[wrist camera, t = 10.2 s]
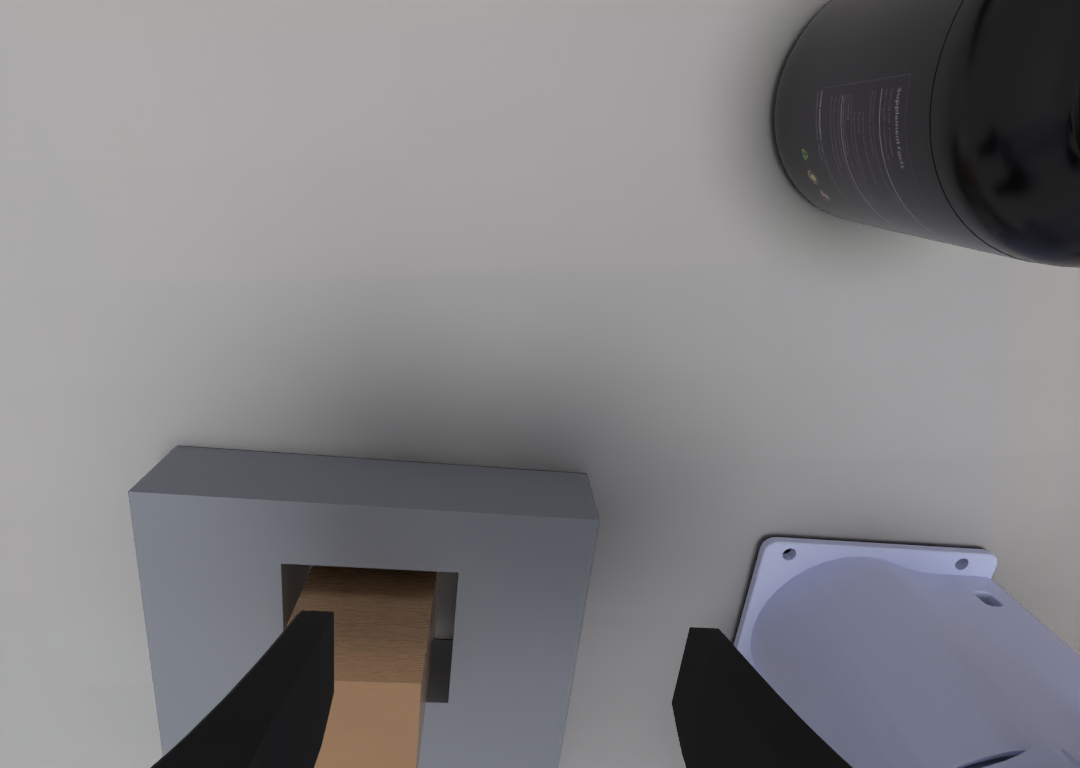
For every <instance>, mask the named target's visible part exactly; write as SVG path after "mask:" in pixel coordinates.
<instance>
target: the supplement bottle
mask: <svg viewBox="0 0 1080 768" xmlns="http://www.w3.org/2000/svg"><path fill="white" fill-rule="evenodd" d="M774 127H775V137H776V142H777V147H778V151H779V155H780V158H781V161H782V163H783V165H784V168H785V170H786V172H787V174H788V175H789V177H790V179H791V180H792V182H793V183H794V185H795V186H796V187H797V189H798V190H799V191H800V192H801V193H802V194H803V195H804V196H805V197H806V198H807V199H808V200H809V201H810V202H811V203H813V204H814V205H816V206H817V207H818V208H820V209H822V210H824V211H826V212H827V213H829V214H832V215H834V216H837V217H839V218H842V219H846V220H849V221H853V222H857V223H860V224H864V225H868V226H873V227H877V228H882V229H886V230H890V231H895V232H899V233H904V234H908V235H912V236H917V237H921V238H926V239H930V240H934V241H939V242H943V243H948V244H952V245H956V246H961V247H965V248H970V249H974V250H978V251H983V252H987V253H992V254H996V255H1001V256H1005V257H1009V258H1014V259H1018V260H1023V261H1028V262H1034V263H1040V264H1046V265H1053V266H1060V267H1077V268H1079V267H1080V0H831V1H830V2H829V3H828V4H827V5H826V6H825V7H824V8H823V9H822V10H821V11H820V12H819V13H818V14H817V15H816V16H815V17H814V18H813V19H812V21H811V22H810V23H809V25H808V26H807V27H806V28H805V30H804V31H803V33H802V34H801V36H800V37H799V39H798V40H797V42H796V44H795V46H794V48H793V49H792V51H791V53H790V55H789V57H788V60H787V62H786V64H785V67H784V70H783V72H782V75H781V78H780V82H779V86H778V90H777V96H776V102H775V113H774Z"/></svg>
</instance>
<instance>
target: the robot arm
mask: <svg viewBox="0 0 1080 768" xmlns="http://www.w3.org/2000/svg"><path fill="white" fill-rule="evenodd" d="M787 549H791V550H790V552H788V553H786V554H783V552H784V551H785V550H787ZM958 560H960V561H959V562H957V561H958ZM956 562H957V563H956ZM996 566H997V558H996V557H995V556H994V555H993V554H992V553H990V552H989V551H988V550H984V549H969V548H952V547H935V546H919V545H902V544H885V543H868V542H851V541H835V540H818V539H801V538H784V537H772V538H769V539H767V540H765V541H764V542H763V543H762V545H761V547H760V550H759V554H758V558H757V561H756V565H755V568H754V572H753V576H752V579H751V583H750V587H749V590H748V594H747V598H746V601H745V605H744V609H743V612H742V616H741V620H740V623H739V627H738V631H737V634H736V638H735V641H734V645H733V644H732V643H731V642H730V641H729V640H728V638H727V637H726V636H725V635H724V634H723V633H722V632H721V631H720V630H719V629H714V628H691V627H690V630H689V634H688V638H687V642H686V646H685V650H684V654H683V659H682V663H681V667H680V671H679V675H678V679H677V683H676V688H675V692H674V696H673V700H672V706H673V711H674V716H675V722H676V727H677V732H678V737H679V741H680V746H681V750H682V755H683V758H684V761H685V764H686V768H1080V656H1079V655H1078V654H1077V653H1076V652H1074V651H1073V650H1072V649H1071V648H1070V647H1069V646H1068V645H1066V644H1065V643H1064V642H1063V641H1062V640H1061V639H1060V638H1058V637H1057V636H1056V635H1055V634H1054V633H1053V632H1052V631H1050V630H1049V629H1048V628H1047V627H1046V626H1045V625H1044V624H1042V623H1041V622H1040V621H1039V620H1038V619H1037V618H1036V617H1034V616H1033V615H1032V614H1031V613H1030V612H1029V611H1028V610H1026V609H1025V608H1024V607H1023V606H1022V605H1021V604H1020V603H1018V602H1017V601H1016V600H1015V599H1014V598H1013V597H1012V596H1010V595H1009V594H1008V593H1007V592H1006V591H1005V590H1004V589H1002V588H1001V587H1000V586H999V585H998V584H997V583H996V582H994V581H993V580H992V579H991V578H992V575H993V573H994V571H995V568H996ZM333 695H334V612H328V611H305V610H302V611H301V612H299V613H298V614H297V615H296V616H295V617H294V618H293V620H292V621H291V622H290V623H289V625H288V626H287V627H286V628H285V630H284V631H283V632H282V633H281V634H280V636H279V637H278V638H277V639H276V640H275V642H274V643H273V644H272V645H271V646H270V648H269V649H268V650H267V651H266V652H265V653H264V655H263V656H262V657H261V658H260V659H259V660H258V661H257V663H256V664H255V665H254V666H253V667H252V668H251V669H250V670H249V671H248V673H247V674H246V675H245V676H244V677H243V678H242V679H241V680H240V681H239V682H238V683H237V684H236V686H235V687H234V688H233V689H232V690H231V691H230V692H229V693H228V694H227V695H226V696H225V697H224V698H223V699H222V700H221V702H220V703H219V704H218V705H217V706H215V707H214V708H213V709H212V710H211V711H210V712H209V713H208V714H207V715H206V716H205V717H204V718H203V719H202V720H201V721H200V722H199V723H198V724H197V725H196V726H195V727H194V728H193V729H192V730H191V731H190V732H189V733H188V734H187V735H186V736H185V737H184V738H183V739H182V740H181V741H180V742H179V743H178V744H176V745H175V746H174V747H173V748H172V749H171V750H170V751H169V752H168V753H167V754H166V755H164V756H163V757H162V758H161V759H160V760H159V761H158V762H157V763H155V764H154V765H153V766H152V767H151V768H314V766H315V763H316V761H317V758H318V755H319V752H320V749H321V746H322V742H323V738H324V733H325V729H326V725H327V721H328V717H329V712H330V708H331V704H332V699H333Z"/></svg>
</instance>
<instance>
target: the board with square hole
mask: <svg viewBox="0 0 1080 768" xmlns="http://www.w3.org/2000/svg"><path fill="white" fill-rule="evenodd" d="M128 495H129V502H130V510H131V518H132V525H133V533H134V540H135V548H136V556H137V563H138V571H139V578H140V586H141V594H142V601H143V609H144V616H145V624H146V632H147V639H148V647H149V654H150V662H151V670H152V677H153V685H154V692H155V700H156V708H157V715H158V723H159V730H160V738H161V746H162V753H163V756H164V755H166V754H167V753H168V752H169V751H170V750H171V749H172V748H173V747H174V746H175V745H176V744H178V743H179V742H180V741H181V740H182V739H183V738H184V737H185V736H186V735H187V734H188V733H189V732H190V731H191V730H192V729H193V728H194V727H195V726H196V725H197V724H198V723H199V722H200V721H201V720H202V719H203V718H204V717H205V716H206V715H207V714H208V713H209V712H210V711H211V710H212V709H213V708H214V707H215V706H217V705H218V704H219V703H220V702H221V700H222V699H223V698H224V697H225V696H226V695H227V694H228V693H229V692H230V691H231V690H232V689H233V688H234V687H235V686H236V684H237V683H238V682H239V681H240V680H241V679H242V678H243V677H244V676H245V675H246V674H247V673H248V671H249V670H250V669H251V668H252V667H253V666H254V665H255V664H256V663H257V661H258V660H259V659H260V658H261V657H262V656H263V655H264V653H265V652H266V651H267V650H268V649H269V648H270V646H271V645H272V644H273V643H274V642H275V640H276V639H277V638H278V637H279V636H280V634H281V633H282V632H283V631H284V630H285V628H286V626H287V624H288V622H289V619H290V617H291V615H292V612H293V610H294V608H295V606H296V603H297V601H298V599H299V596H300V594H301V592H302V589H303V587H304V585H305V583H306V580H307V578H308V576H309V565H318V566H338V567H358V568H377V569H397V570H416V571H436V572H456V573H459V574H458V586H457V599H456V612H455V624H454V637H453V640H436V639H434V645H433V653H432V661H431V669H430V677H429V684H428V692H427V700H426V708H425V716H424V724H423V732H422V740H421V748H420V755H419V763H418V768H558V765H559V759H560V753H561V747H562V741H563V735H564V729H565V723H566V717H567V711H568V705H569V699H570V693H571V687H572V681H573V675H574V669H575V663H576V657H577V651H578V645H579V639H580V633H581V627H582V621H583V615H584V609H585V603H586V597H587V591H588V585H589V579H590V573H591V567H592V561H593V555H594V549H595V543H596V537H597V531H598V525H599V517H598V513H597V510H596V506H595V502H594V499H593V495H592V492H591V488H590V484H589V481H588V477H587V474H583V473H569V472H554V471H539V470H524V469H510V468H495V467H480V466H466V465H451V464H436V463H421V462H407V461H392V460H377V459H362V458H348V457H333V456H318V455H303V454H289V453H274V452H259V451H244V450H230V449H215V448H200V447H185V446H176V447H175V448H174V449H173V450H172V451H171V452H170V453H169V454H168V455H167V456H165V457H164V458H163V459H162V460H161V461H160V462H159V463H158V464H157V465H156V466H155V467H154V468H153V469H152V470H151V471H149V472H148V473H147V474H146V475H145V476H144V477H143V478H142V479H141V480H140V481H139V482H138V483H137V484H136V485H135V486H134V487H132V488H131V489H130V490H129V491H128Z"/></svg>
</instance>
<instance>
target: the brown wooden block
mask: <svg viewBox="0 0 1080 768" xmlns="http://www.w3.org/2000/svg"><path fill="white" fill-rule="evenodd" d="M439 578H440V572H436V571H416V570H397V569H377V568H358V567H338V566H318V565H313V567H312V569H311V571H310V573H309V576H308V578H307V580H306V583H305V585H304V587H303V589H302V592H301V594H300V596H299V599H298V601H297V603H296V606H295V608H294V610H293V612H292V615H291V617H290V619H289V622H288V624H287V626H288V625H289V623H290V622H291V621H292V620H293V618H294V617H295V616H296V615H297V614H298V613H299V612H301V611H302V610H305V611H328V612H334V695H333V699H332V704H331V708H330V712H329V717H328V721H327V725H326V729H325V733H324V738H323V742H322V746H321V749H320V752H319V755H318V758H317V761H316V763H315V766H314V768H418V763H419V755H420V748H421V740H422V732H423V724H424V716H425V708H426V700H427V692H428V684H429V677H430V669H431V661H432V653H433V645H434V637H435V629H436V621H437V608H438V593H439ZM287 626H286V627H287Z"/></svg>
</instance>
